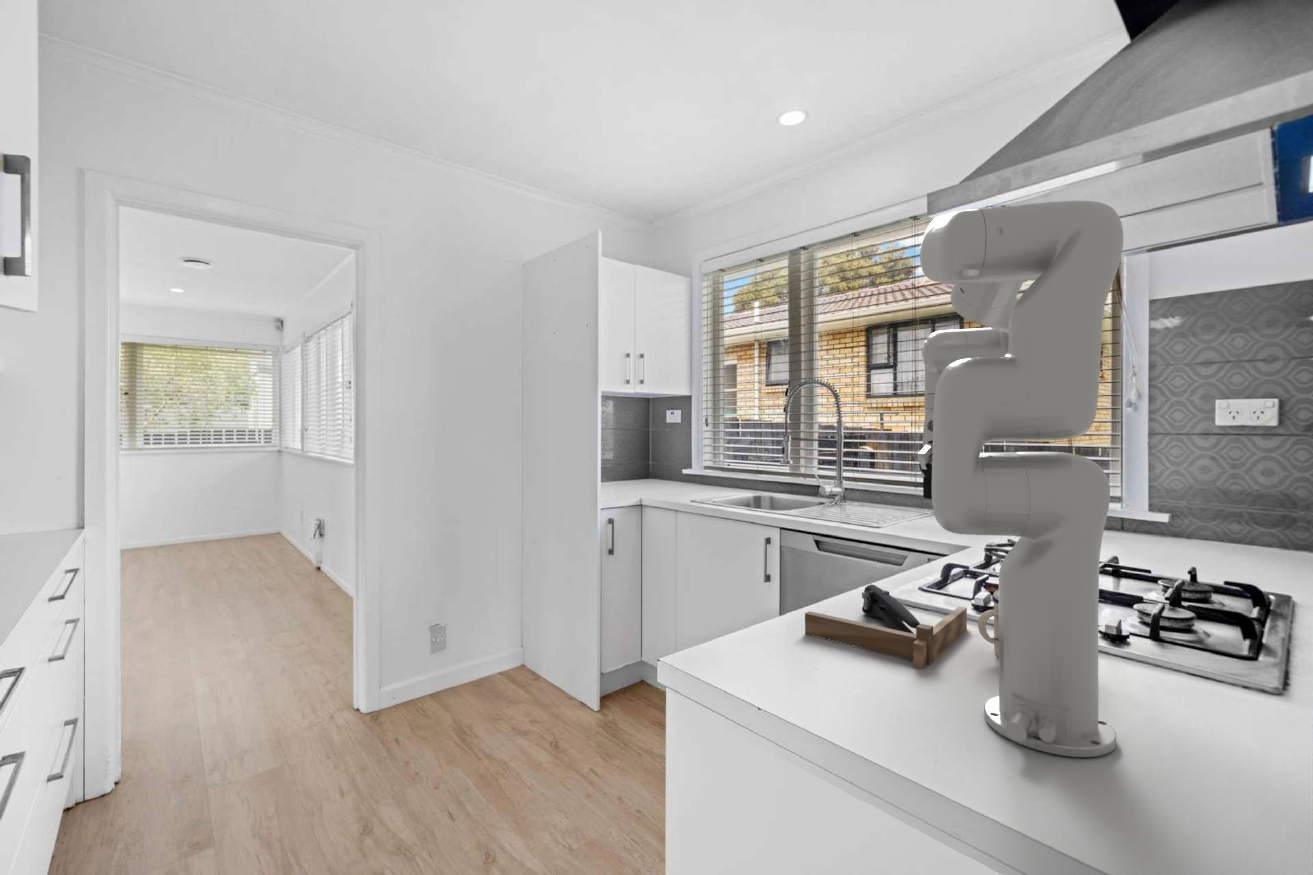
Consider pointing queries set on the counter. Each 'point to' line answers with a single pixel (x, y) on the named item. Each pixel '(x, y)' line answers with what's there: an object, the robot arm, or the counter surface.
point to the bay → (891, 635)
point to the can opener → (887, 609)
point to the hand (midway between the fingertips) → (947, 496)
